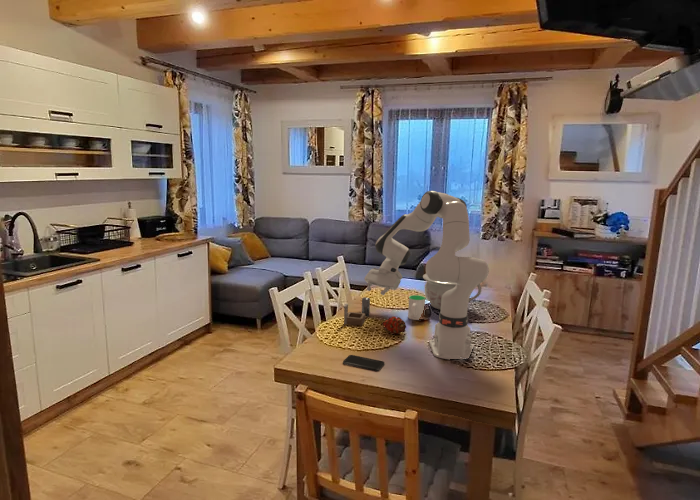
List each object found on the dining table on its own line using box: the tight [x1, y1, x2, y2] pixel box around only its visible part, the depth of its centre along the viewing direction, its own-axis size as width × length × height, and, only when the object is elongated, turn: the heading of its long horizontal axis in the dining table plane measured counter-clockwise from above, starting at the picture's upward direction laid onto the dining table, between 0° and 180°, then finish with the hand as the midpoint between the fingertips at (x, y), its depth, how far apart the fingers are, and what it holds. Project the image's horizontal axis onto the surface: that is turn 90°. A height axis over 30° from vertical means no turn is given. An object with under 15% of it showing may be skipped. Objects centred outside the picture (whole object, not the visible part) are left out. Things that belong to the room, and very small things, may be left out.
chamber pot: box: [422, 273, 483, 311], centre depth 245 cm, size 28×28×21 cm
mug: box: [407, 294, 426, 321], centre depth 227 cm, size 12×8×10 cm, turn 162°
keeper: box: [343, 303, 366, 327], centre depth 219 cm, size 10×9×10 cm
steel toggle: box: [361, 296, 371, 318], centre depth 230 cm, size 4×4×9 cm
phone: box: [342, 354, 385, 372], centre depth 176 cm, size 8×1×15 cm
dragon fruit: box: [381, 315, 407, 335], centre depth 207 cm, size 8×8×12 cm
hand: (374, 292), depth 233 cm, fingers open, 8 cm apart
